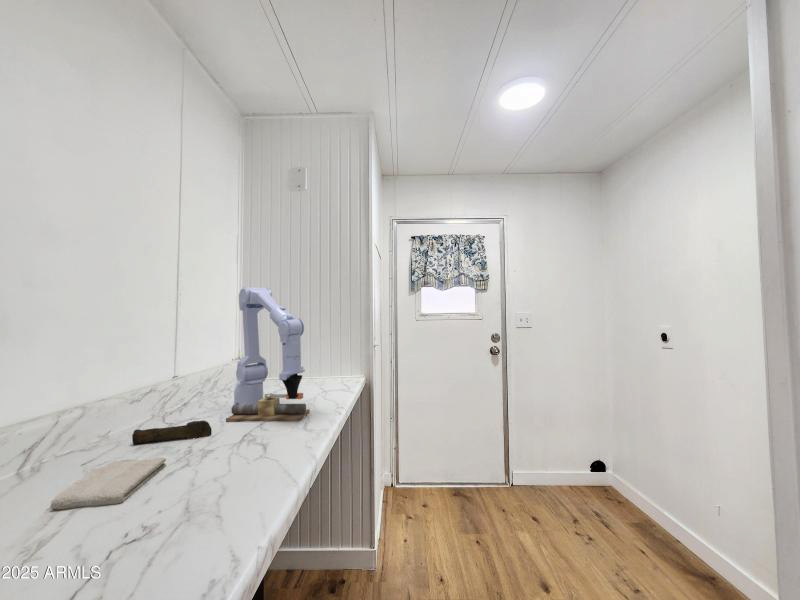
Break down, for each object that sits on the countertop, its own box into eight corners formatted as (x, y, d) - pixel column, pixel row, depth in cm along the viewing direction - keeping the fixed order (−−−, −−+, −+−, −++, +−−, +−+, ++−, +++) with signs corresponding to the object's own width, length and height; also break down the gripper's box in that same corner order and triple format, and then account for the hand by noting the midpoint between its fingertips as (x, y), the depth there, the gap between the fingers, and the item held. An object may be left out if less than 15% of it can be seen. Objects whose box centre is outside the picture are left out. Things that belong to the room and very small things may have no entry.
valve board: (225, 421, 116) (225, 402, 116) (241, 413, 126) (241, 395, 126) (299, 421, 114) (298, 401, 115) (309, 412, 124) (309, 394, 125)
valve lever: (263, 399, 119) (263, 394, 119) (267, 397, 122) (267, 392, 122) (300, 399, 118) (300, 394, 118) (303, 397, 120) (303, 392, 120)
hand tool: (130, 447, 97) (130, 429, 97) (137, 442, 100) (137, 425, 101) (208, 439, 101) (208, 422, 101) (212, 435, 105) (212, 418, 105)
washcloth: (168, 466, 84) (168, 452, 84) (123, 507, 66) (123, 489, 66) (111, 471, 82) (111, 457, 82) (48, 515, 64) (48, 497, 65)
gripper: (294, 359, 110) (295, 404, 110) (311, 353, 125) (312, 393, 124) (272, 359, 111) (273, 404, 111) (291, 353, 126) (292, 393, 125)
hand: (292, 398), depth 118 cm, fingers closed
